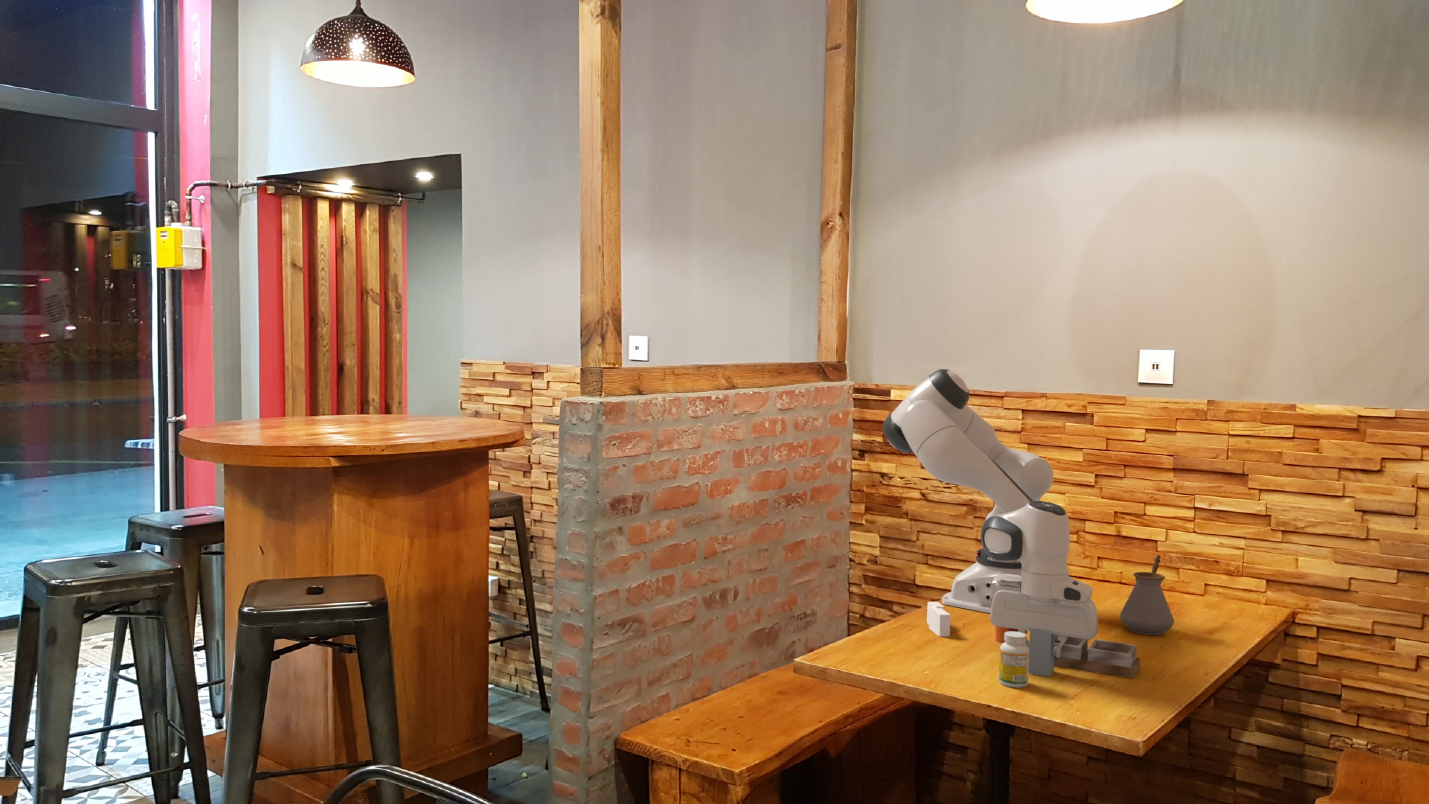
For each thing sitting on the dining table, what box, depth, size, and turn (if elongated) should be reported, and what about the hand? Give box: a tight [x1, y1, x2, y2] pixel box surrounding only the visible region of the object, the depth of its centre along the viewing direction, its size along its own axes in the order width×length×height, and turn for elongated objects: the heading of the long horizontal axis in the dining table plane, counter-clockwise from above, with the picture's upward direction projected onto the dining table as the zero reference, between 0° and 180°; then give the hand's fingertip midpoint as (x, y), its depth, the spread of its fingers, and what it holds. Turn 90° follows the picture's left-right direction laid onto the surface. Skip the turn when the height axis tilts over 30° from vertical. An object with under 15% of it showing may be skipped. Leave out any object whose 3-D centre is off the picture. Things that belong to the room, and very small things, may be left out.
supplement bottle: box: [998, 631, 1029, 689], centre depth 200 cm, size 5×5×10 cm
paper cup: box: [992, 574, 1021, 644], centre depth 229 cm, size 8×8×14 cm
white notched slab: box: [926, 601, 951, 638], centre depth 238 cm, size 15×11×6 cm
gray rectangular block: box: [1028, 628, 1055, 678], centre depth 207 cm, size 4×4×9 cm
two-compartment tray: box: [1054, 635, 1142, 679], centre depth 212 cm, size 19×8×4 cm, turn 61°
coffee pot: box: [1119, 554, 1175, 636], centre depth 243 cm, size 21×12×15 cm, turn 149°
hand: (1041, 654), depth 207 cm, fingers closed on gray rectangular block, 4 cm apart
